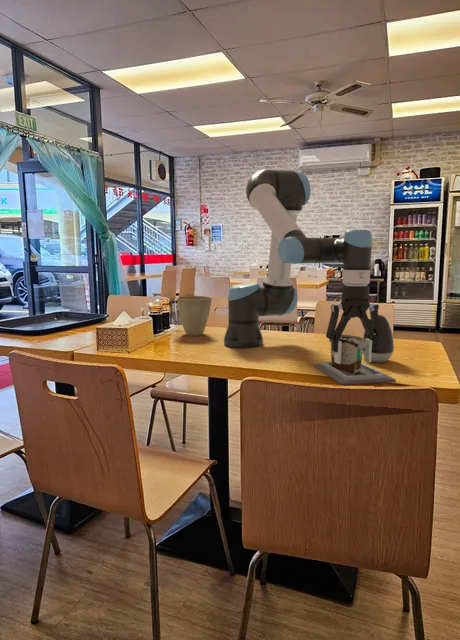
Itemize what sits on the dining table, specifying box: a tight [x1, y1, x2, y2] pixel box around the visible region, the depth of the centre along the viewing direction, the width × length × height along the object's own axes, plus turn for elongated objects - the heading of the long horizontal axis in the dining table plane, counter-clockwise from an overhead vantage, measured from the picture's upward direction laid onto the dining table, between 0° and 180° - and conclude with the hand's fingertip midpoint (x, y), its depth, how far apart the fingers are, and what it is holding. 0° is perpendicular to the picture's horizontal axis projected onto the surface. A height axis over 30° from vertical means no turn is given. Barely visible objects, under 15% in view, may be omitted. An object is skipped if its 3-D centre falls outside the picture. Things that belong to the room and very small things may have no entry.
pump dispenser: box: [362, 314, 395, 363], centre depth 145 cm, size 10×10×15 cm
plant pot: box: [176, 295, 212, 337], centre depth 192 cm, size 15×15×16 cm
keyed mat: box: [313, 361, 397, 386], centre depth 131 cm, size 20×16×2 cm
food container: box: [328, 334, 366, 375], centre depth 131 cm, size 12×6×10 cm, turn 30°
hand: (352, 361), depth 130 cm, fingers open, 9 cm apart
